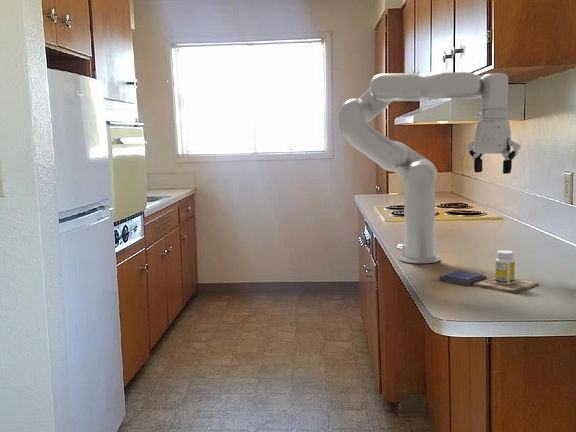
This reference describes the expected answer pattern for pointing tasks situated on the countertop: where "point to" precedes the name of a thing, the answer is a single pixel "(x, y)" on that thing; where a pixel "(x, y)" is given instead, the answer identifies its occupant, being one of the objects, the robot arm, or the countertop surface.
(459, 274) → the ink pad
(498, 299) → the countertop surface
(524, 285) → the marked board
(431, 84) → the robot arm
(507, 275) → the supplement bottle
